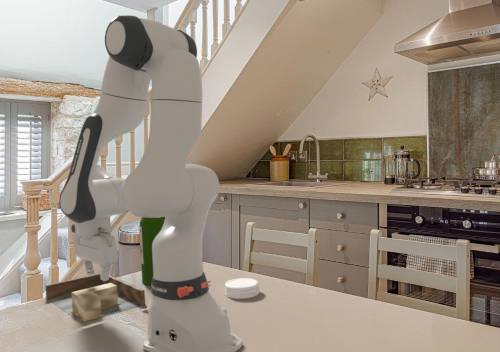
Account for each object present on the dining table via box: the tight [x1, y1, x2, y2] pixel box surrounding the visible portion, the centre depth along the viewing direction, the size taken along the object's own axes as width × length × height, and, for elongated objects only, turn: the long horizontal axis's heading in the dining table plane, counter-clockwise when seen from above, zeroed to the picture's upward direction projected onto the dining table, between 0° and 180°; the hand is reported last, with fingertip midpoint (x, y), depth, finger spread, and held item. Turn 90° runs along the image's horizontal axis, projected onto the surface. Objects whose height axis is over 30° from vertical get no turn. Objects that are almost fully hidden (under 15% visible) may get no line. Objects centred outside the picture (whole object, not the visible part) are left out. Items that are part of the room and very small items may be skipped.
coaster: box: [224, 277, 260, 300], centre depth 125 cm, size 10×10×4 cm
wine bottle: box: [138, 216, 166, 286], centre depth 138 cm, size 9×9×32 cm
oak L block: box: [71, 283, 118, 319], centre depth 114 cm, size 11×9×5 cm
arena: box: [45, 272, 146, 324], centre depth 122 cm, size 27×18×5 cm, turn 42°
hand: (97, 277), depth 116 cm, fingers open, 8 cm apart
